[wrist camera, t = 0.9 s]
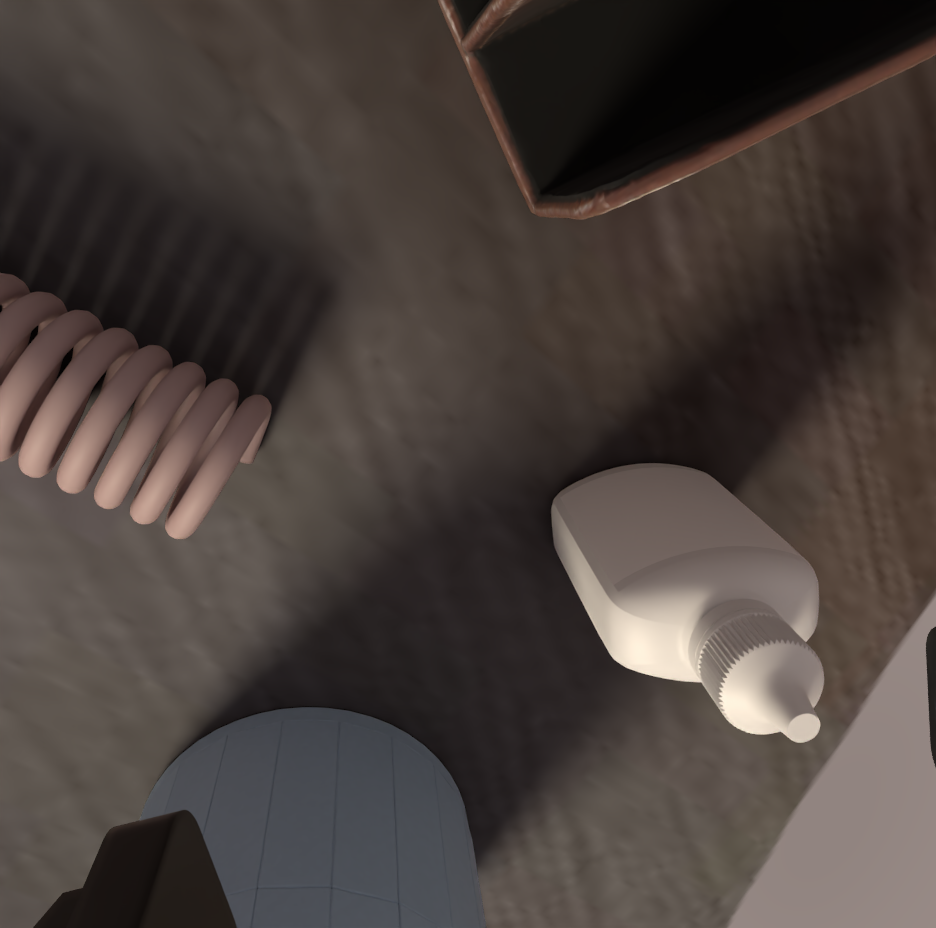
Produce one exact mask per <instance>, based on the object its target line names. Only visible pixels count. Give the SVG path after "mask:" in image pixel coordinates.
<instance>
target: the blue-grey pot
mask: <svg viewBox="0 0 936 928" xmlns="http://www.w3.org/2000/svg"><path fill="white" fill-rule="evenodd" d="M181 810H188V811H189V812H191V814H192V815H193V816H194V817H195V819H196V821H197V823H198V825H199V828H200V830H201V833H202V835H203V838H204V841H205V843H206V846H207V848H208V851H209V854H210V856H211V859H212V862H213V864H214V867H215V869H216V872H217V875H218V877H219V880H220V882H221V885H222V888H223V890H224V893H225V896H226V898H227V901H228V903H229V906H230V909H231V911H232V914H233V917H234V920H235V923H236V926H237V928H486V923H485V916H484V910H483V904H482V897H481V891H480V885H479V879H478V872H477V866H476V860H475V854H474V847H473V841H472V837H471V833H470V830H469V826H468V820H467V815H466V810H465V805H464V802H463V800H462V797H461V794H460V792H459V789H458V787H457V785H456V784H455V782H454V780H453V778H452V776H451V775H450V773H449V772H448V771H447V769H446V768H445V767H444V765H443V764H442V763H441V762H440V760H439V759H438V758H437V757H436V756H435V755H434V754H433V753H432V752H431V751H430V750H429V749H427V748H426V747H425V746H424V745H423V744H422V743H420V742H419V741H417V740H416V739H415V738H413V737H412V736H411V735H409V734H408V733H406V732H404V731H402V730H400V729H398V728H396V727H395V726H393V725H391V724H389V723H386V722H384V721H381V720H378V719H376V718H373V717H371V716H367V715H363V714H359V713H356V712H352V711H347V710H340V709H332V708H319V707H299V708H287V709H279V710H274V711H269V712H264V713H259V714H255V715H252V716H249V717H246V718H243V719H240V720H237V721H234V722H232V723H230V724H228V725H226V726H223V727H221V728H219V729H217V730H215V731H213V732H212V733H210V734H208V735H207V736H205V737H203V738H202V739H200V740H198V741H197V742H196V743H194V744H193V745H192V746H191V747H189V748H188V749H187V750H186V751H184V752H183V753H182V754H181V755H180V756H179V757H178V758H177V759H176V760H175V761H174V762H173V763H172V764H171V765H170V766H169V767H168V768H167V769H166V770H165V772H164V773H163V775H162V776H161V777H160V779H159V780H158V781H157V783H156V784H155V786H154V788H153V790H152V791H151V793H150V795H149V797H148V799H147V801H146V803H145V806H144V809H143V812H142V815H141V818H140V820H144V819H148V818H152V817H156V816H160V815H164V814H168V813H172V812H177V811H181ZM140 820H139V821H140Z"/></svg>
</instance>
